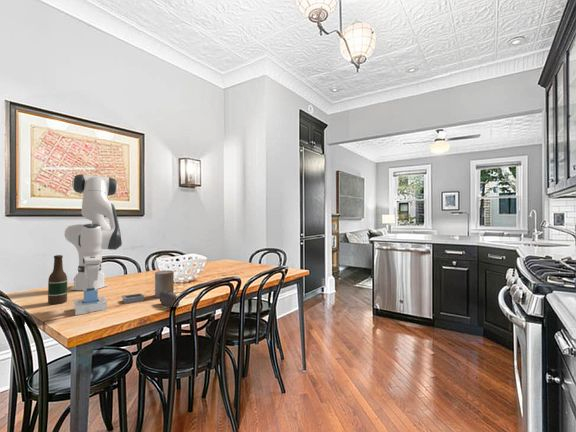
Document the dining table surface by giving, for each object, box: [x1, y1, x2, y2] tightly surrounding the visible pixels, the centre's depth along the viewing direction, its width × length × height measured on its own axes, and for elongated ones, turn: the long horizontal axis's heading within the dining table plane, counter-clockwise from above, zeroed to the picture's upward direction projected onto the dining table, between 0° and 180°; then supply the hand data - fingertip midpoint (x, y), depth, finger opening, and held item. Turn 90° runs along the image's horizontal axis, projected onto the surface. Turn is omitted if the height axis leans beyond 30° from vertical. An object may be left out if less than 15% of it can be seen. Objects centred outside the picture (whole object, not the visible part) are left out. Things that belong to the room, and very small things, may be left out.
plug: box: [83, 287, 99, 303], centre depth 144 cm, size 4×5×9 cm
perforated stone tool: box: [158, 290, 180, 309], centre depth 151 cm, size 15×5×7 cm, turn 47°
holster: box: [122, 293, 145, 305], centre depth 158 cm, size 7×9×3 cm
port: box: [73, 296, 108, 316], centre depth 144 cm, size 12×12×4 cm
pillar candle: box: [154, 269, 175, 299], centre depth 170 cm, size 10×10×15 cm
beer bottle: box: [47, 254, 68, 306], centre depth 155 cm, size 8×8×24 cm
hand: (90, 287), depth 144 cm, fingers closed
